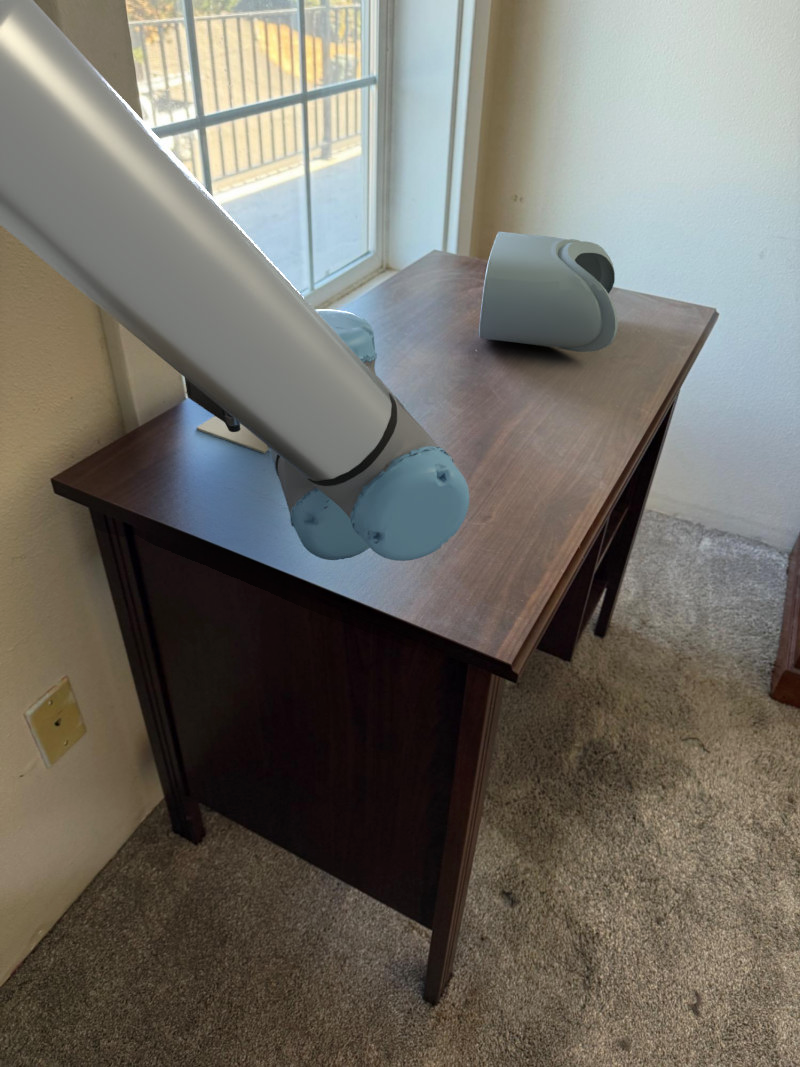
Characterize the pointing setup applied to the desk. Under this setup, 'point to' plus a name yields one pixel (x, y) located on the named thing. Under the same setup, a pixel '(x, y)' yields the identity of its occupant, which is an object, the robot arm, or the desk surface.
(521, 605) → the desk surface
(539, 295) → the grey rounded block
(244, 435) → the mat
